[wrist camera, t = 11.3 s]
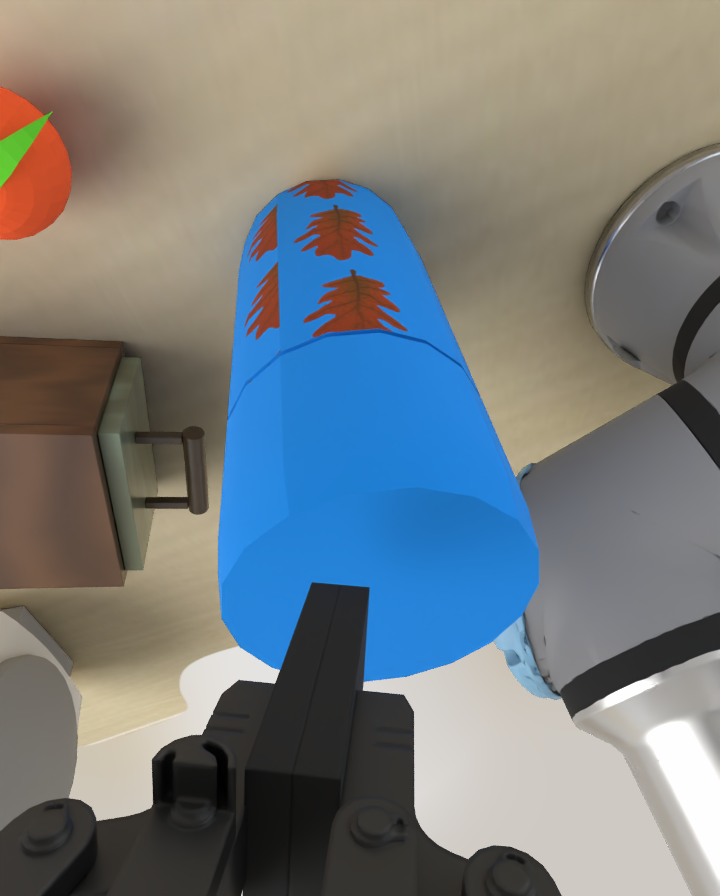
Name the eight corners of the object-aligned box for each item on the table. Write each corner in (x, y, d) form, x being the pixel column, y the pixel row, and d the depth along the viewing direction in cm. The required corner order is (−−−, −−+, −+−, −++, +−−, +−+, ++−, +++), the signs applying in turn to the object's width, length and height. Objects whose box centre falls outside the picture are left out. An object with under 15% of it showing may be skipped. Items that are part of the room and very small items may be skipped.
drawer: (207, 360, 41) (197, 434, 35) (213, 490, 49) (206, 569, 43) (-87, 348, 38) (-150, 428, 32) (-29, 489, 46) (-71, 573, 41)
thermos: (394, 345, 43) (490, 680, 25) (238, 334, 41) (215, 689, 23) (428, 186, 36) (599, 487, 18) (243, 163, 34) (214, 475, 16)
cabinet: (122, 341, 41) (91, 435, 33) (144, 487, 49) (123, 586, 42) (-125, 330, 38) (-215, 429, 31) (-56, 486, 47) (-113, 591, 40)
